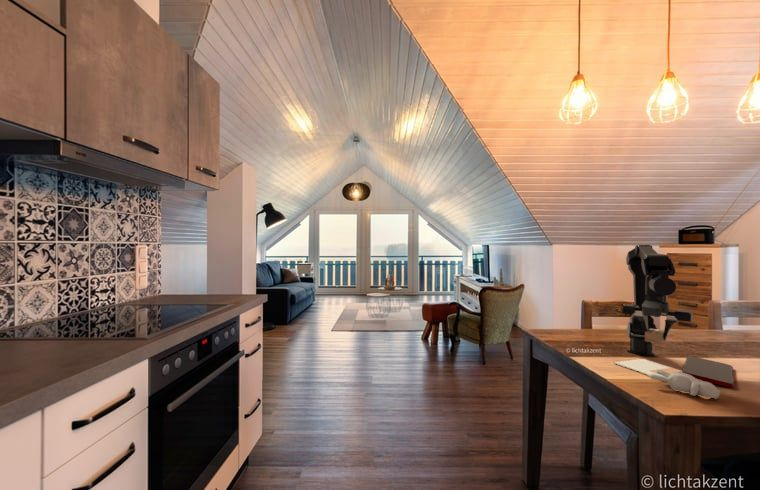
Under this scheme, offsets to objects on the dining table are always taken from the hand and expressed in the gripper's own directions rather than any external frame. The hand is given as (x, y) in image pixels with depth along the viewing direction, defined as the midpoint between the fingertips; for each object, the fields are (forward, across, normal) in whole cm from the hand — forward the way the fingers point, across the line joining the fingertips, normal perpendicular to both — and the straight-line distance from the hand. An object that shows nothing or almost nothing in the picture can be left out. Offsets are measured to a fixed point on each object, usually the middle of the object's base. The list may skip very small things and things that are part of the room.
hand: (655, 337), depth 122 cm
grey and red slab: (+11, +12, +11) cm, 20 cm away
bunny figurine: (+12, +9, -14) cm, 20 cm away
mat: (+12, -1, +1) cm, 12 cm away
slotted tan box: (+1, 0, 0) cm, 1 cm away
